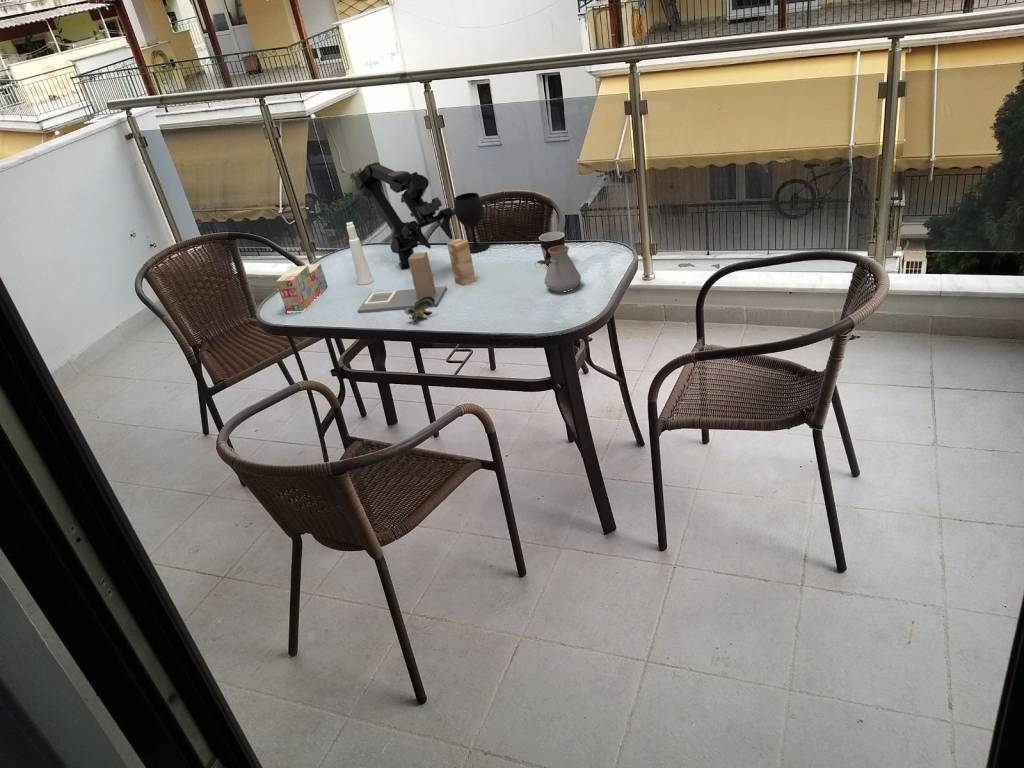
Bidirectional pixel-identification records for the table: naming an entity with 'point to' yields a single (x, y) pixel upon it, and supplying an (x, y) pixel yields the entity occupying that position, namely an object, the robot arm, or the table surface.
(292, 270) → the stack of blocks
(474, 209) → the wine glass
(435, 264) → the table surface
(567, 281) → the coffee pot
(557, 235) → the coffee mug
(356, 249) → the cosmetic bottle
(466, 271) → the oak block
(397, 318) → the table surface
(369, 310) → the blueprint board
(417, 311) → the chipmunk figurine
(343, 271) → the table surface
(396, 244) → the robot arm
